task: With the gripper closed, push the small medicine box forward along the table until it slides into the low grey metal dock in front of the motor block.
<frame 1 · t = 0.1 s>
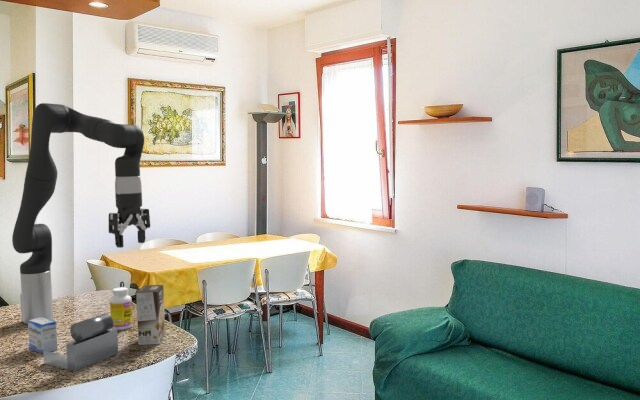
hand: (130, 245, 168), 29 cm above the counter, tool pointing down, fingers open, 8 cm apart
coffee box: (152, 340, 170), on the counter
medicine box: (43, 350, 163), on the counter
motor dock: (78, 357, 156), on the counter
supplement bottle: (122, 328, 183), on the counter
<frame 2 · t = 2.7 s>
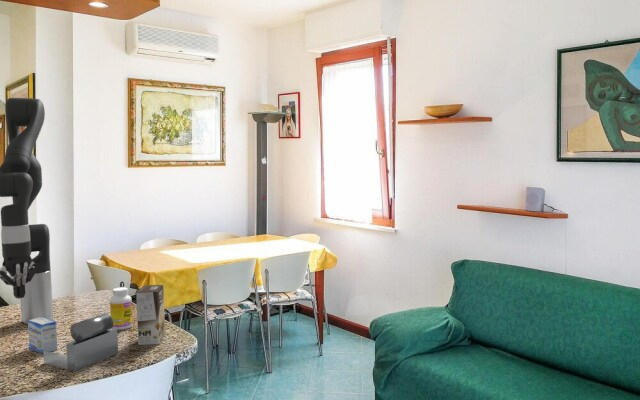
hand: (19, 297, 166), 14 cm above the counter, tool pointing down, fingers closed
nothing on the counter moved.
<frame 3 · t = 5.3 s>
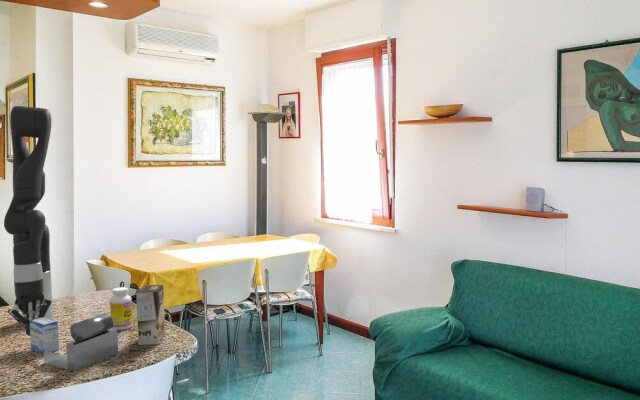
hand: (32, 335, 164), 4 cm above the counter, tool pointing down, fingers closed
medicine box: (45, 350, 163), on the counter, touching gripper
everything else where it was.
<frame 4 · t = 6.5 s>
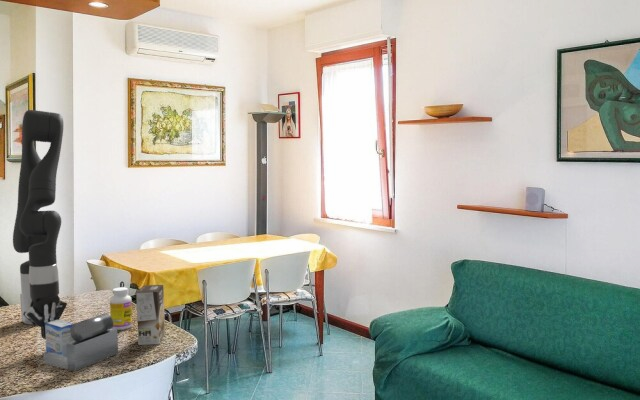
hand: (47, 338, 162), 4 cm above the counter, tool pointing down, fingers closed
medicine box: (61, 353, 160), on the counter, touching gripper, hand
everything else where it was.
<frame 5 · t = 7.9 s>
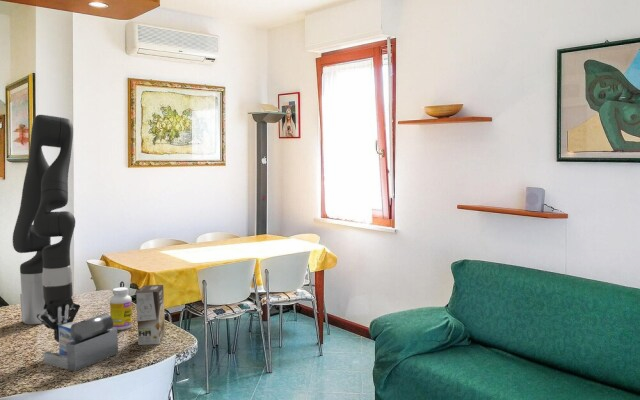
hand: (60, 341, 159), 4 cm above the counter, tool pointing down, fingers closed
medicine box: (74, 355, 158), on the counter, touching gripper, hand
everything else where it was.
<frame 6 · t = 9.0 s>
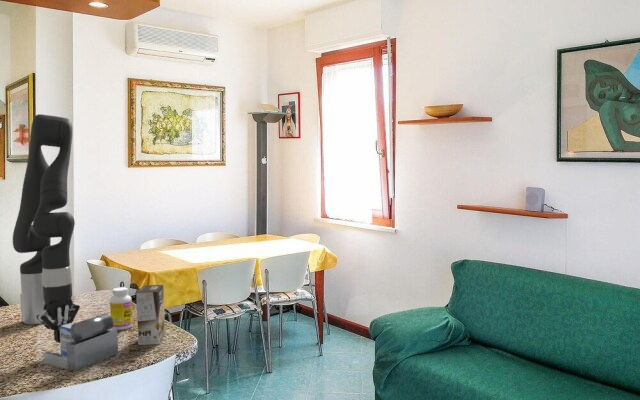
hand: (60, 341, 159), 3 cm above the counter, tool pointing down, fingers closed
medicine box: (76, 356, 157), on the counter
everything else where it was.
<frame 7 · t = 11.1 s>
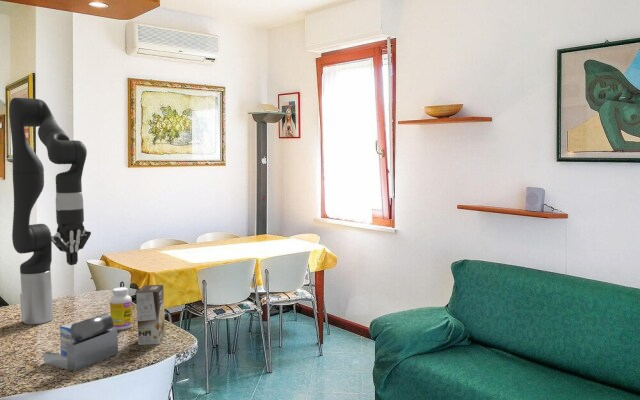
hand: (72, 264, 168), 24 cm above the counter, tool pointing down, fingers closed
nothing on the counter moved.
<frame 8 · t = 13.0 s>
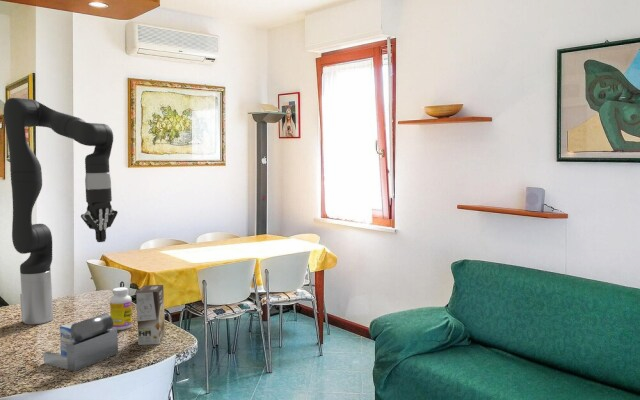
hand: (101, 241, 177), 29 cm above the counter, tool pointing down, fingers closed
nothing on the counter moved.
at the end: medicine box inside the target area on the motor dock (2.2 cm from its centre), point 0.0 cm above the motor dock's base; medicine box tilted 0°; medicine box moved 13.2 cm from its start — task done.
